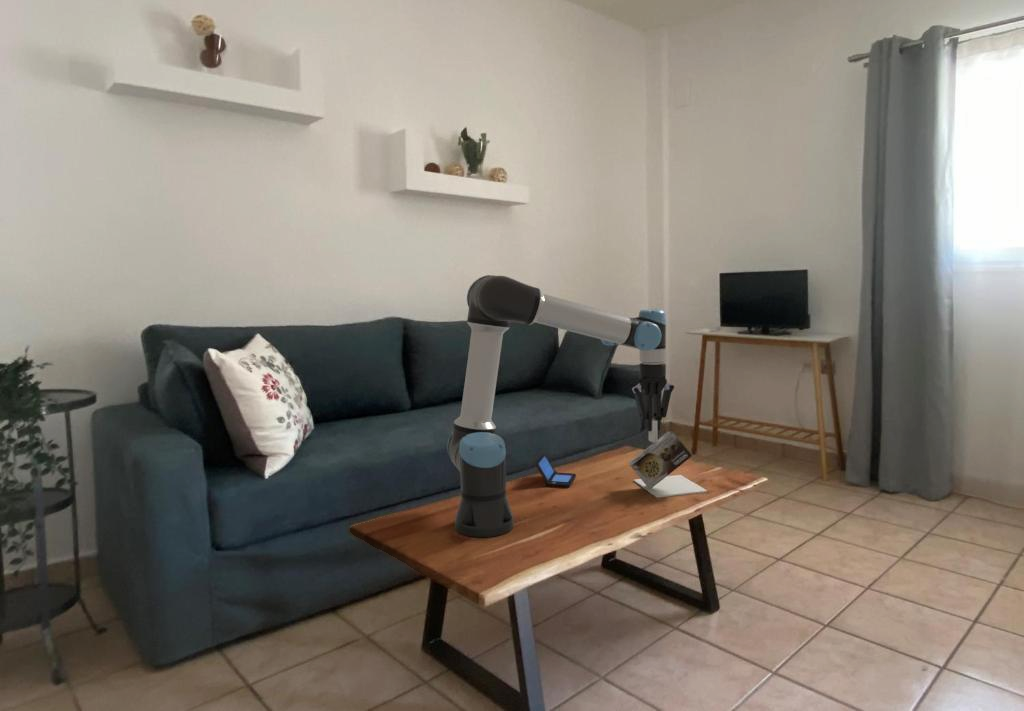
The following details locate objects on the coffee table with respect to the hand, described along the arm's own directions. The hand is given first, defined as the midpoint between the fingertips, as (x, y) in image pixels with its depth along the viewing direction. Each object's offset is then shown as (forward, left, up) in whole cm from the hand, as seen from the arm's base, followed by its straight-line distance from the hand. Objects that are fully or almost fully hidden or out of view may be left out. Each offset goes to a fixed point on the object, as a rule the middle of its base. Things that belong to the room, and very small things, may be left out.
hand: (653, 441), depth 198 cm
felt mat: (+6, 0, -15) cm, 15 cm away
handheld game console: (-25, +16, -15) cm, 33 cm away
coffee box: (-5, 0, -10) cm, 11 cm away
